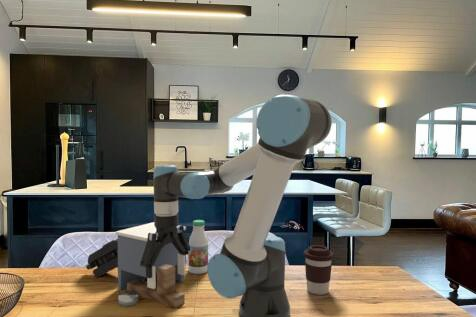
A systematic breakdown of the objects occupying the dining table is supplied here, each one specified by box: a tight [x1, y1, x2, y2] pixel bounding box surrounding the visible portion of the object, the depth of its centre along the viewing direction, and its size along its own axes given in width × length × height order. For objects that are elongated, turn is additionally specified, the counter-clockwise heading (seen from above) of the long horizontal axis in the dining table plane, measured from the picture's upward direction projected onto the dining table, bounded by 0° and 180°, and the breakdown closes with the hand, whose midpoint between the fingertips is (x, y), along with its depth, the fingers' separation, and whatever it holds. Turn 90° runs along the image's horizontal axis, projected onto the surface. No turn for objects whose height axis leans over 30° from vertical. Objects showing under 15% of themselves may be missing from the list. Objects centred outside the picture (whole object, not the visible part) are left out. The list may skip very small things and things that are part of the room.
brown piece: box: [126, 264, 186, 309], centre depth 116 cm, size 22×4×11 cm, turn 58°
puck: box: [117, 290, 139, 308], centre depth 112 cm, size 6×6×3 cm
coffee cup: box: [303, 244, 334, 296], centre depth 123 cm, size 10×10×15 cm
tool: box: [85, 238, 118, 278], centre depth 135 cm, size 6×19×15 cm, turn 78°
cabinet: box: [115, 221, 187, 291], centre depth 126 cm, size 15×19×20 cm
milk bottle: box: [187, 219, 209, 275], centre depth 140 cm, size 8×8×20 cm
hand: (167, 280), depth 113 cm, fingers open, 13 cm apart
